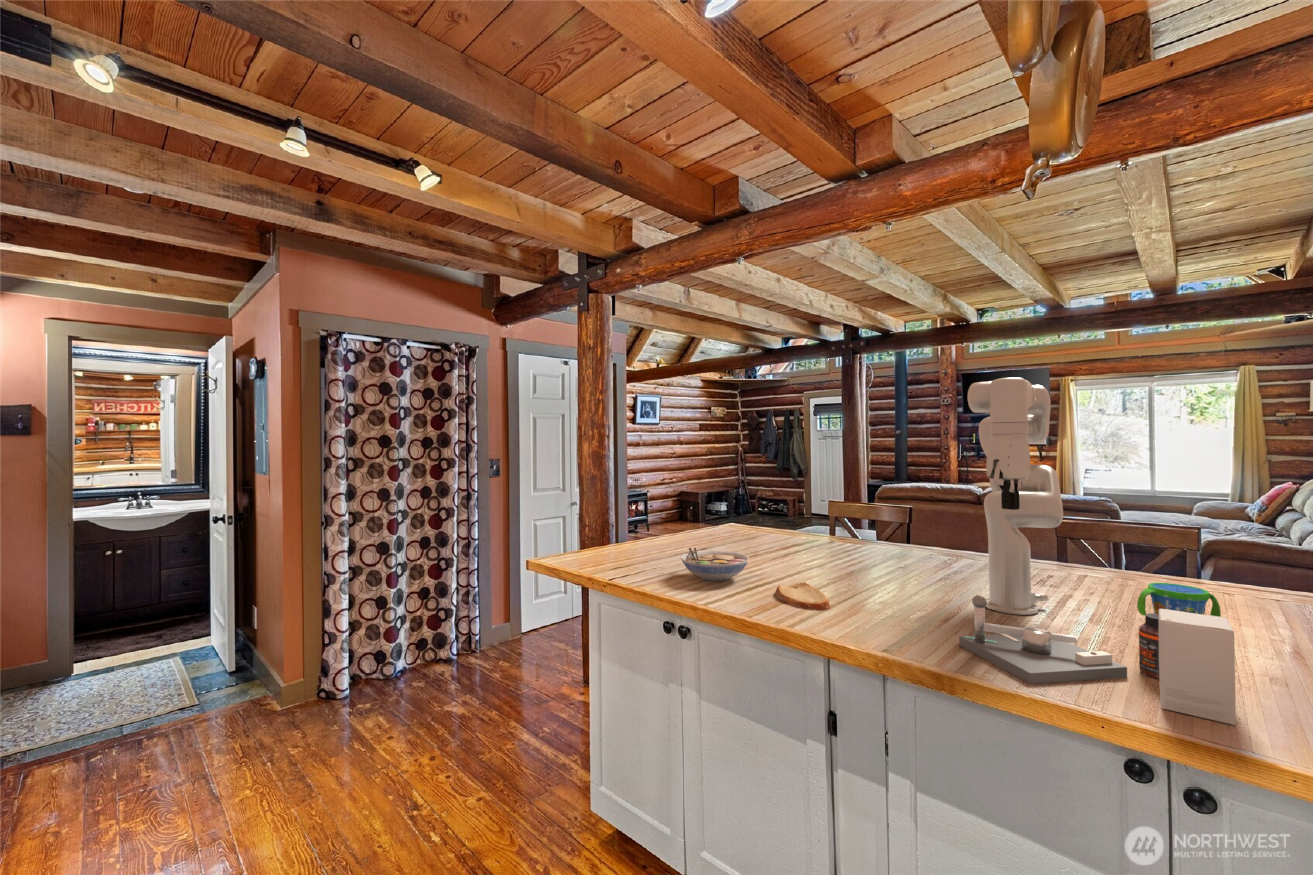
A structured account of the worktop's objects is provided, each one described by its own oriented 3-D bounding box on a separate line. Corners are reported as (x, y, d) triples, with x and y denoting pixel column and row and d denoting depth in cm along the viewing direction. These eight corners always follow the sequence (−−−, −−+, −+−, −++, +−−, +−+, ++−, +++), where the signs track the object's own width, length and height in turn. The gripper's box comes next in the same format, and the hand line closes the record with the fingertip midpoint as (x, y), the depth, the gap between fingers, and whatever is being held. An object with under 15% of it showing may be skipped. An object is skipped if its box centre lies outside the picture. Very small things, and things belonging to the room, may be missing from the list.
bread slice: (828, 613, 147) (827, 599, 147) (763, 604, 156) (763, 590, 156) (842, 597, 163) (842, 584, 163) (782, 589, 172) (782, 577, 172)
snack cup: (1205, 627, 132) (1204, 584, 132) (1236, 642, 122) (1235, 596, 122) (1126, 621, 137) (1125, 580, 137) (1150, 635, 127) (1149, 591, 127)
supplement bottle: (1131, 670, 108) (1129, 611, 108) (1158, 668, 109) (1157, 610, 109) (1161, 683, 102) (1160, 621, 102) (1190, 681, 103) (1189, 620, 103)
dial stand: (1041, 640, 124) (1041, 623, 124) (1127, 677, 104) (1126, 656, 105) (959, 645, 122) (958, 627, 122) (1030, 684, 102) (1030, 662, 102)
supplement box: (1238, 727, 86) (1235, 631, 86) (1160, 709, 92) (1158, 619, 92) (1231, 706, 93) (1229, 617, 93) (1159, 690, 99) (1157, 607, 99)
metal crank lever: (1074, 650, 112) (1073, 603, 112) (1077, 659, 108) (1076, 609, 108) (973, 635, 121) (972, 591, 122) (972, 642, 117) (971, 597, 117)
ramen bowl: (755, 588, 171) (755, 562, 171) (682, 589, 172) (681, 562, 172) (744, 570, 196) (743, 547, 196) (679, 570, 197) (679, 547, 197)
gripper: (1012, 431, 136) (1013, 505, 136) (973, 431, 130) (974, 509, 129) (1044, 430, 130) (1046, 508, 129) (1005, 430, 123) (1007, 512, 123)
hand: (1010, 508), depth 129 cm, fingers closed
